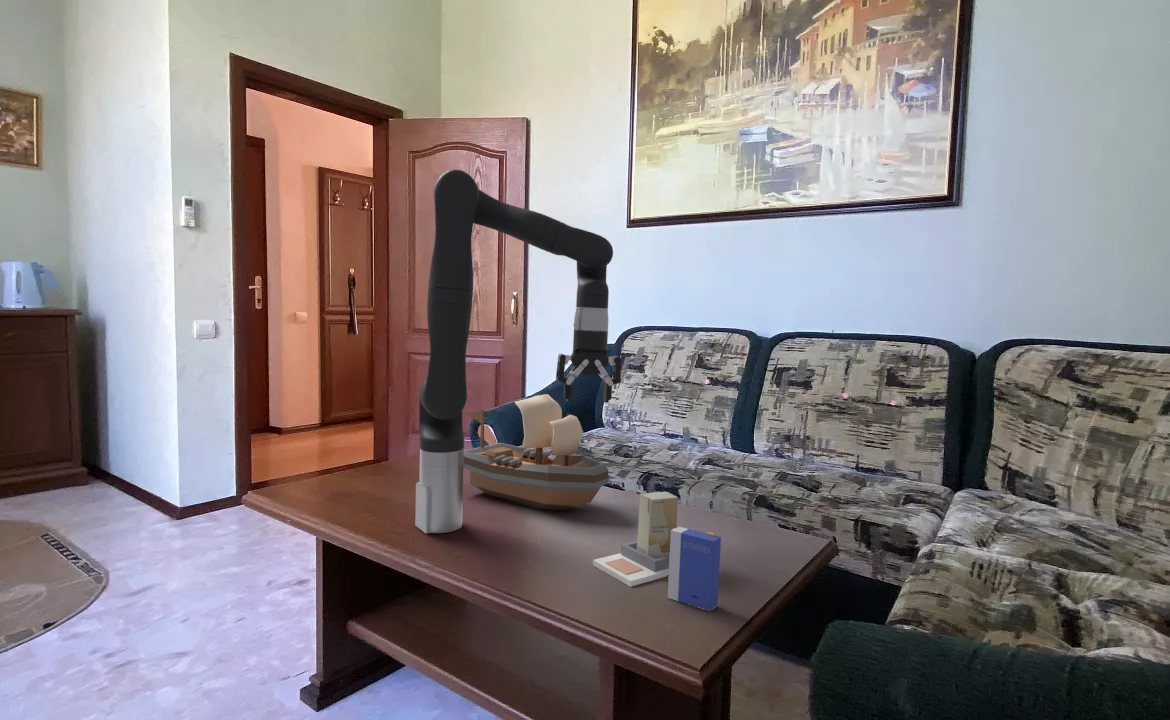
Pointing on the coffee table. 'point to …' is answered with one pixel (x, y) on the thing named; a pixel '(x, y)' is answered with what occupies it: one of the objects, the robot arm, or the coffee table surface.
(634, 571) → the plate
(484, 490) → the sailing ship
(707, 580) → the walkman
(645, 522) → the skincare box
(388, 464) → the coffee table surface
